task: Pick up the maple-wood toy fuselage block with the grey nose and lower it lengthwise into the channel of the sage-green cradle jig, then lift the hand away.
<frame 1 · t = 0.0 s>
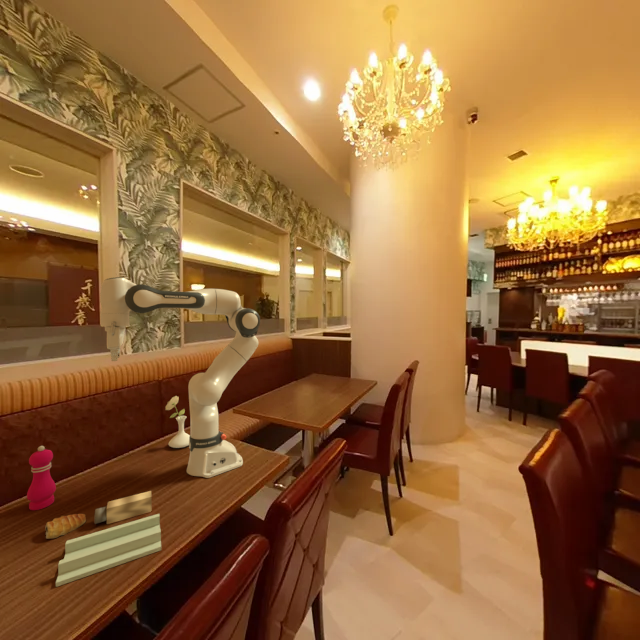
hand: (115, 359, 110), 48 cm above the table, fingers open, 8 cm apart
pastry: (63, 530, 90), on the table
pepper mill: (41, 505, 102), on the table
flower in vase: (179, 446, 148), on the table
fuselage: (130, 514, 97), on the table
cradle: (114, 548, 82), on the table
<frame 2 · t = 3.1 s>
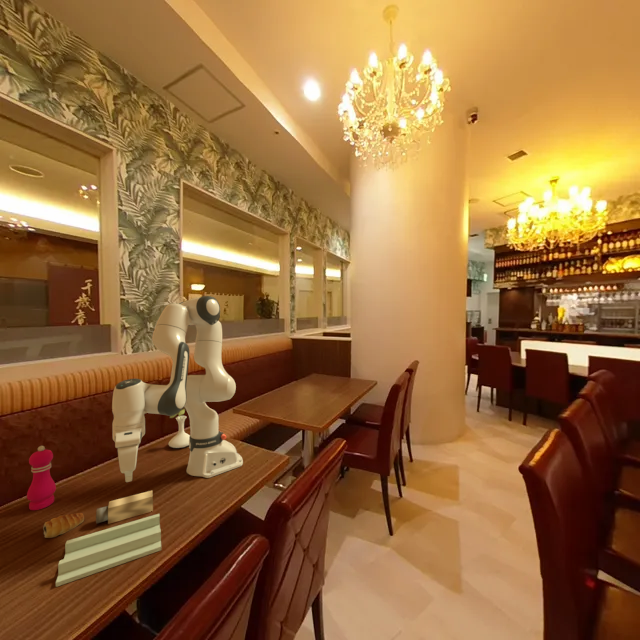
hand: (129, 473, 96), 13 cm above the table, fingers open, 8 cm apart
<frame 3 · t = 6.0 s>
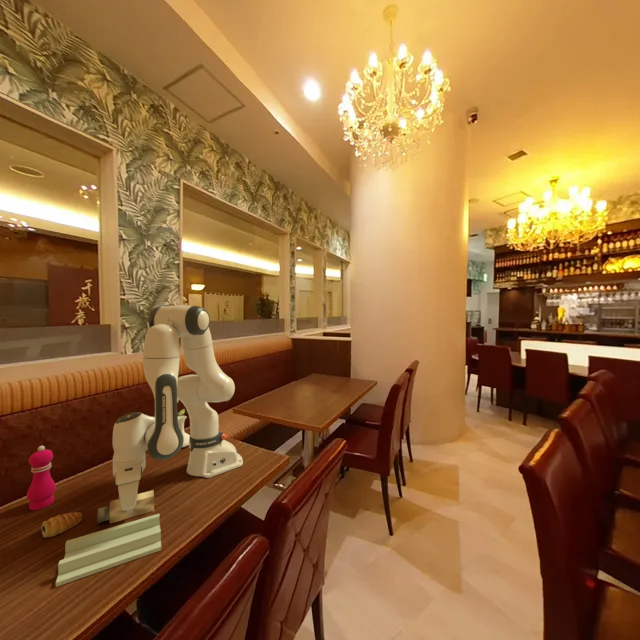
hand: (130, 507, 97), 2 cm above the table, fingers closed on fuselage, 4 cm apart
fuselage: (132, 513, 97), on the table, touching gripper
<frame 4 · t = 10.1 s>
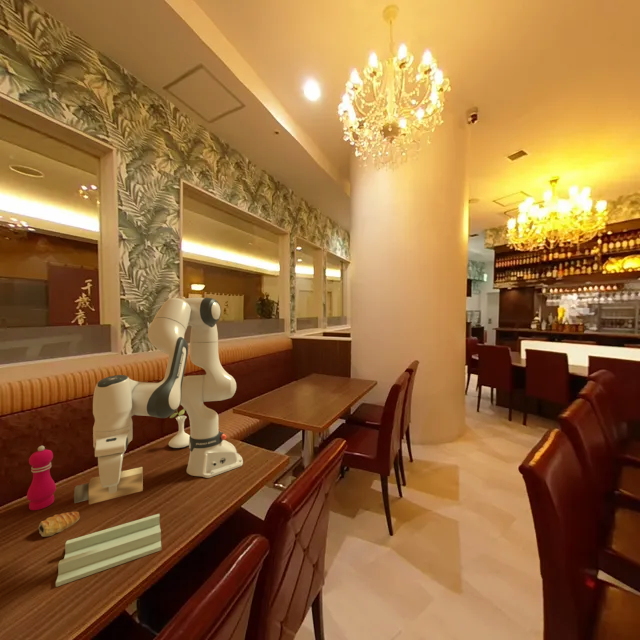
hand: (113, 486, 82), 17 cm above the table, fingers closed on fuselage, 4 cm apart
fuselage: (117, 493, 82), point 15 cm above the table, touching gripper
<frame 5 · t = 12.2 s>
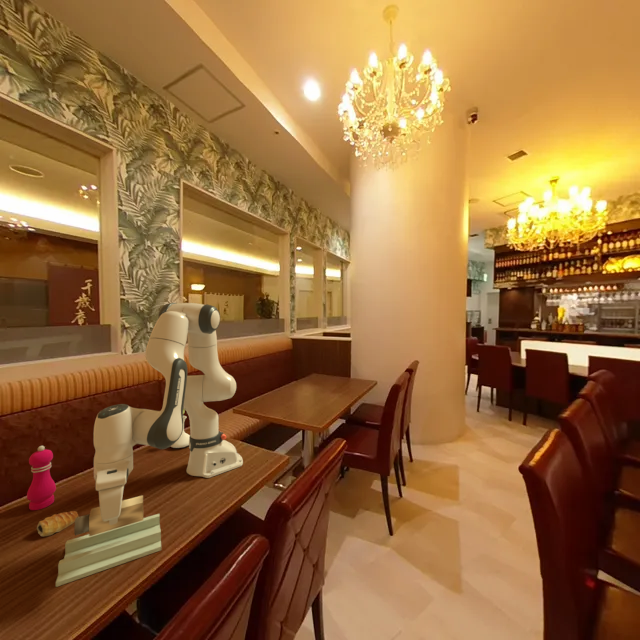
hand: (114, 517, 82), 9 cm above the table, fingers closed on fuselage, 4 cm apart
fuselage: (117, 523, 82), point 7 cm above the table, touching gripper
when the fingers open (5 cm above the table, at t = 14.0 s): fuselage drops 1 cm, resting on cradle.
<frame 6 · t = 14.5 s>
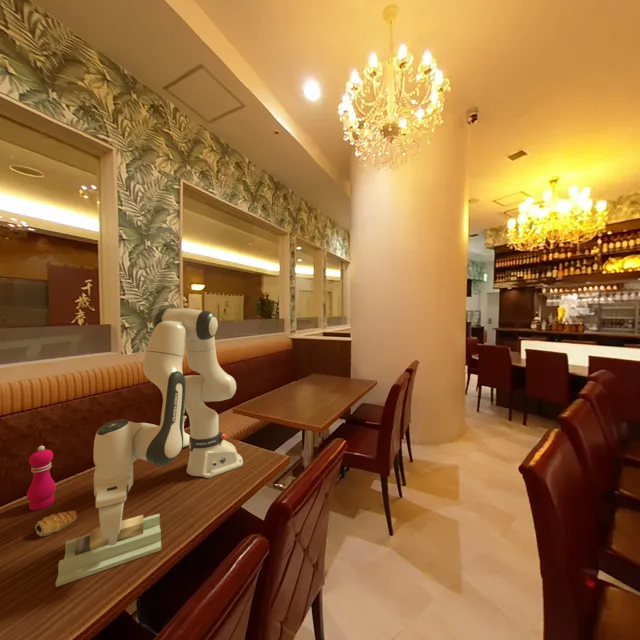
hand: (114, 532, 82), 5 cm above the table, fingers open, 8 cm apart
fuselage: (118, 544, 83), point 1 cm above the table, touching cradle
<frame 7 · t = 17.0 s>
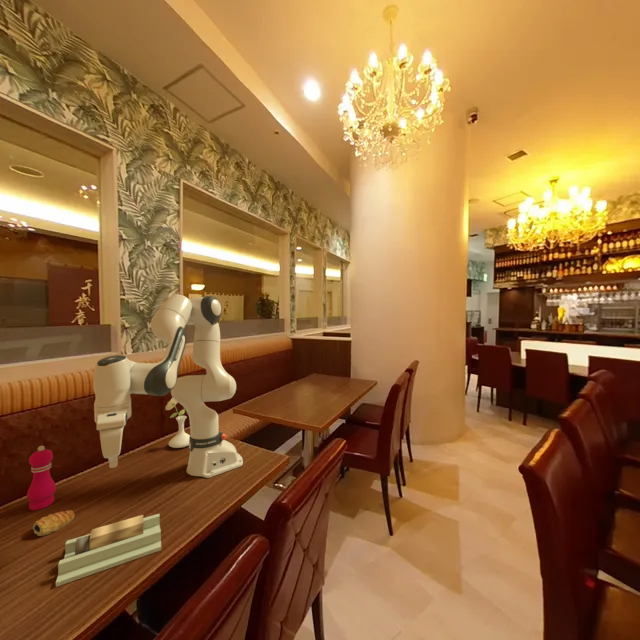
hand: (114, 459, 88), 22 cm above the table, fingers open, 8 cm apart
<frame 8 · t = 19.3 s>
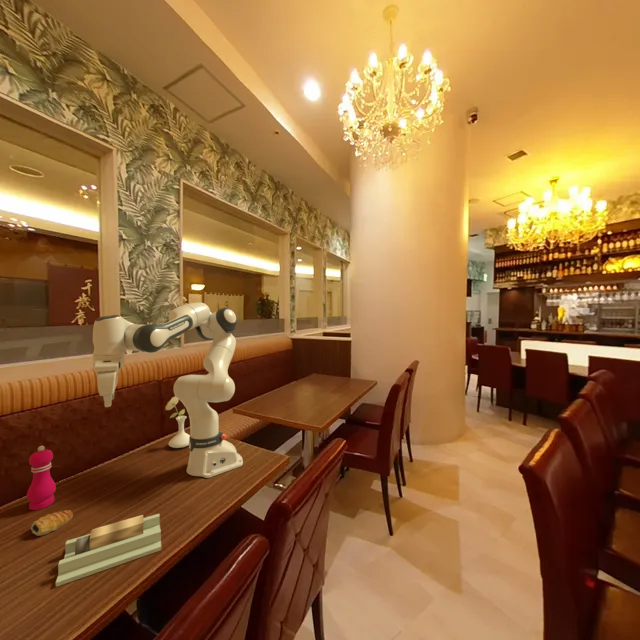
hand: (109, 402, 103), 34 cm above the table, fingers open, 8 cm apart
at the end: fuselage 0.8 cm off-centre on the cradle, point 1.0 cm above the cradle's base; fuselage tilted 0°; the gripper is holding nothing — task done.
